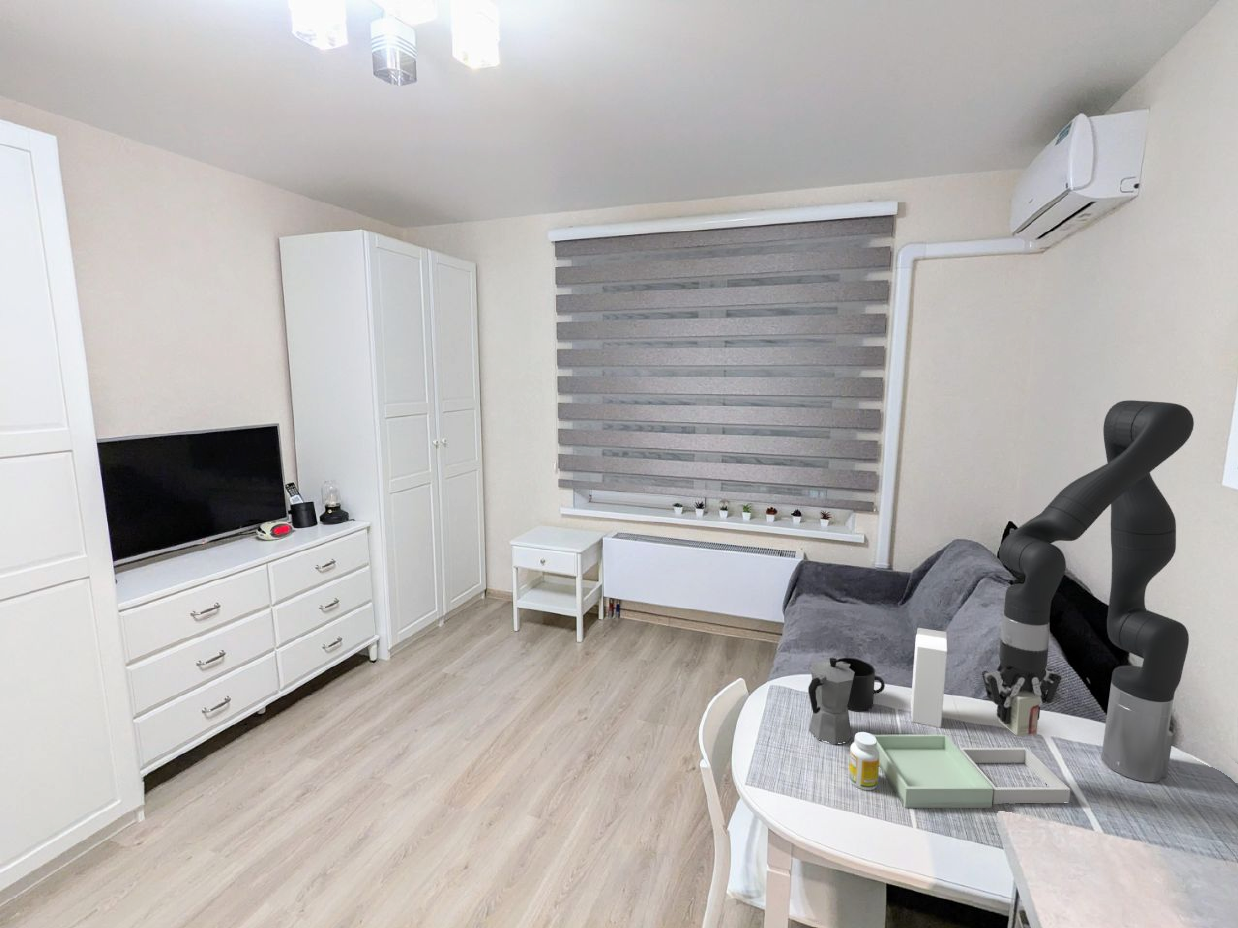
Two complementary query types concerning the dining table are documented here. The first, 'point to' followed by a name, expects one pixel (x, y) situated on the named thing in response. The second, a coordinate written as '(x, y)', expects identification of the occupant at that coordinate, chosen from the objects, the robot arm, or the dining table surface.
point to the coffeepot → (830, 700)
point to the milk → (928, 677)
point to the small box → (1023, 714)
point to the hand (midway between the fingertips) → (1017, 720)
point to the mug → (862, 684)
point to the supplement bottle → (864, 761)
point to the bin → (931, 772)
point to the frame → (1013, 795)
